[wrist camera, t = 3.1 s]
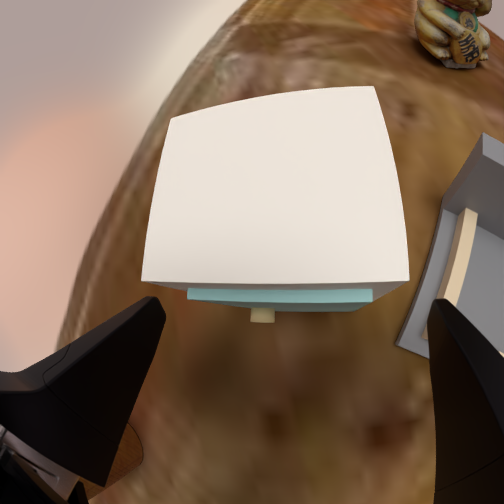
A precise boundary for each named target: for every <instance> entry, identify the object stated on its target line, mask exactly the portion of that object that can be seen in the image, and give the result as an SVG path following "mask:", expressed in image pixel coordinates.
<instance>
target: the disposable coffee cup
mask: <svg viewBox="0 0 504 504" xmlns="http://www.w3.org/2000/svg"><path fill="white" fill-rule="evenodd" d="M142 459H143V451H142V446H141V443H140V441H139V438H138V436H137V435H136V433H135V431H134V430H133V429H132V427H131V426H130V425H129V424H128V423H127V426H126V428H125V431H124V434H123V436H122V439H121V442H120V445H119V448H118V451H117V454H116V456H115V459H114V462H113V465H112V468H111V471H110V474H109V477H108V480H107V483H106V486H105V487H104V488H103V487H101V486H99V485H96V484H94V483H92V482H90V481H88V480H86V479H84V478H82V477H79V480H80V481H81V482H83V484H84V488H85V492H86V496H87V499H88V500H90V499H91V498H93V497H94V496H96V495H97V494H99V493H100V492H102V491H104V490H105V489H106V488H108V487H109V486H111V485H112V484H114V483H115V482H116V481H118V480H119V479H121V478H122V477H123V476H125V475H126V474H128V473H129V472H130V471H132V470H133V469H134V468H136V467H137V466H139V465H140V464H141V462H142Z"/></svg>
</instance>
